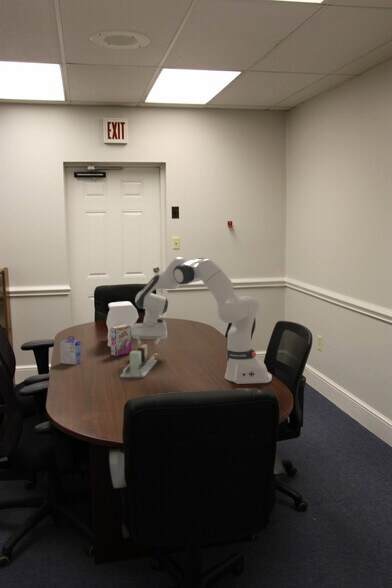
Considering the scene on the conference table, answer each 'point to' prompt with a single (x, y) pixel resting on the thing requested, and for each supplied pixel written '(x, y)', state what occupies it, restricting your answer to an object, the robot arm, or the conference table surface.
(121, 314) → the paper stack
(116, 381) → the conference table surface
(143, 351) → the wooden block
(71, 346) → the ink cartridge box
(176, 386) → the conference table surface
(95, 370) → the conference table surface
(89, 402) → the conference table surface
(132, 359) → the rail
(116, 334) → the candy bar box
